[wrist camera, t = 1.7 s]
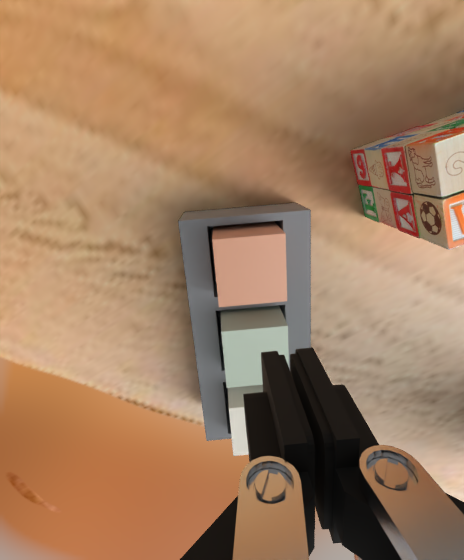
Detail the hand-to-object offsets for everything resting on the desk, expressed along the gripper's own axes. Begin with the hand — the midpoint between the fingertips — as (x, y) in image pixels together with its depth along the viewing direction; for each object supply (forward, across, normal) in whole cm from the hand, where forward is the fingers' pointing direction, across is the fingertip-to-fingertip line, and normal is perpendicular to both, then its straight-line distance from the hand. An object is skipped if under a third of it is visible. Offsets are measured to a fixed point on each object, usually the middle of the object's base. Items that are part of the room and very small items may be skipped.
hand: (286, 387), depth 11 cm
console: (+21, 0, +7) cm, 22 cm away
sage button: (+18, 0, +7) cm, 19 cm away
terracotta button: (+18, 0, 0) cm, 18 cm away
